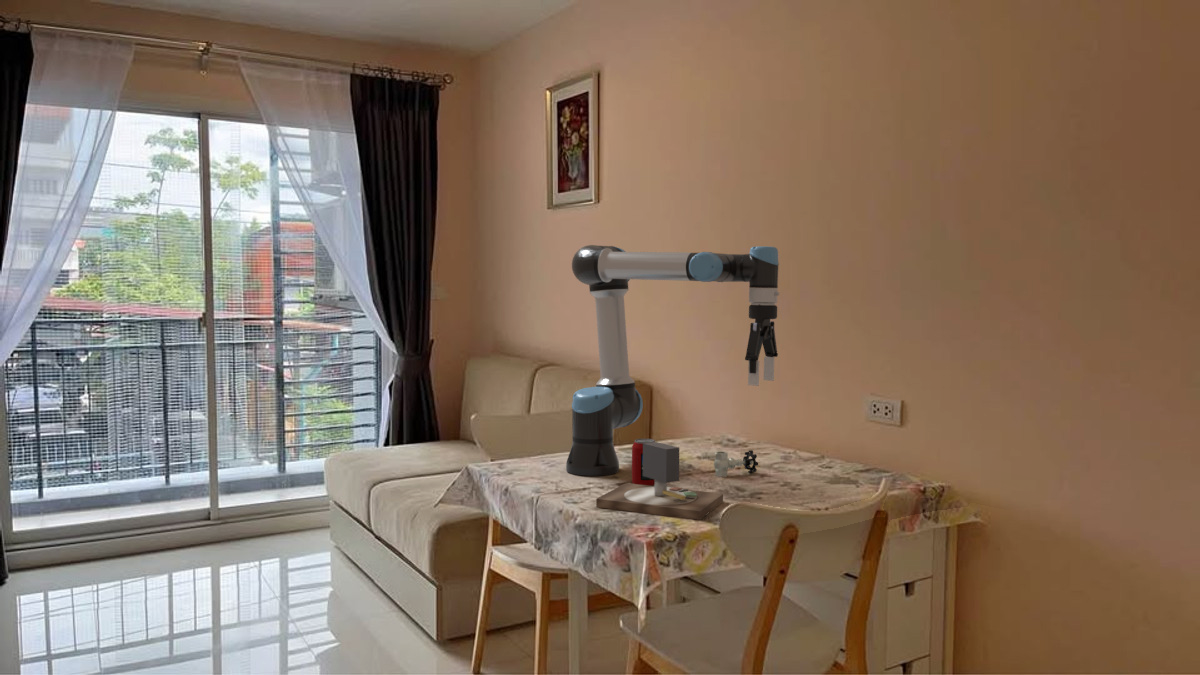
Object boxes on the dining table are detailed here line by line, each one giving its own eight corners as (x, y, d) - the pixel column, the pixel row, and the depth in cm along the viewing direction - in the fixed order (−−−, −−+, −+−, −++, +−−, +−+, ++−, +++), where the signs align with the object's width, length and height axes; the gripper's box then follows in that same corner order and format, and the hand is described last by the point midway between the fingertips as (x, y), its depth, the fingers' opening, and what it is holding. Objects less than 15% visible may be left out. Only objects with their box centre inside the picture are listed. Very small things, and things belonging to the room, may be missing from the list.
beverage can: (649, 489, 223) (649, 443, 222) (627, 485, 226) (627, 441, 225) (661, 484, 228) (662, 439, 228) (639, 481, 232) (639, 437, 231)
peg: (642, 491, 210) (642, 443, 209) (655, 489, 212) (655, 441, 211) (677, 503, 199) (677, 452, 198) (690, 500, 201) (690, 450, 201)
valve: (720, 479, 235) (758, 475, 240) (720, 455, 235) (758, 452, 239) (709, 474, 241) (745, 470, 246) (709, 450, 241) (746, 448, 245)
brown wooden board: (596, 506, 205) (596, 496, 204) (625, 490, 221) (625, 481, 221) (700, 519, 194) (700, 508, 194) (723, 501, 210) (723, 491, 210)
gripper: (762, 305, 217) (760, 388, 218) (789, 303, 239) (787, 379, 240) (734, 304, 220) (732, 386, 222) (763, 303, 242) (761, 377, 244)
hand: (761, 382), depth 231 cm, fingers open, 13 cm apart
